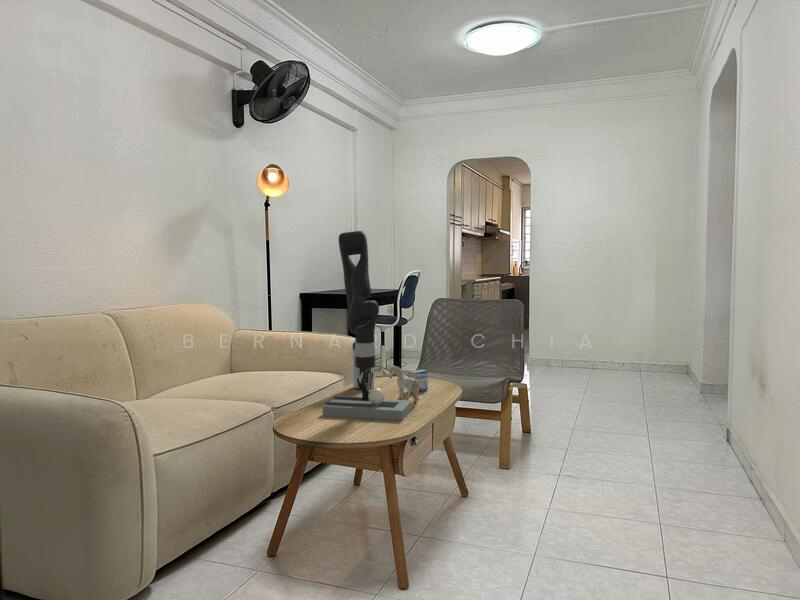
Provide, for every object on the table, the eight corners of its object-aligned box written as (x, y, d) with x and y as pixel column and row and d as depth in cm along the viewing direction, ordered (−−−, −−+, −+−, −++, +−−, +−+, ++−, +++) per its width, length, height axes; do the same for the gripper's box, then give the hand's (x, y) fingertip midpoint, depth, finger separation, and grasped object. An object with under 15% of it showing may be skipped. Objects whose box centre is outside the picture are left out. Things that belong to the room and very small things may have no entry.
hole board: (337, 405, 228) (337, 394, 228) (412, 409, 221) (412, 398, 220) (322, 415, 214) (322, 403, 214) (402, 420, 206) (402, 408, 206)
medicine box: (414, 393, 248) (414, 372, 248) (407, 391, 252) (407, 371, 251) (428, 390, 253) (428, 370, 253) (421, 388, 257) (421, 369, 256)
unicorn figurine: (390, 395, 244) (390, 363, 244) (428, 402, 232) (428, 368, 231) (379, 398, 239) (379, 366, 238) (417, 405, 227) (417, 371, 226)
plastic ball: (382, 384, 218) (389, 399, 218) (369, 390, 220) (375, 405, 219) (377, 386, 213) (383, 402, 212) (363, 392, 214) (369, 407, 214)
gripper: (361, 351, 223) (361, 395, 225) (349, 356, 211) (350, 404, 212) (379, 351, 221) (380, 396, 223) (369, 357, 209) (369, 405, 210)
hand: (365, 400), depth 217 cm, fingers closed
